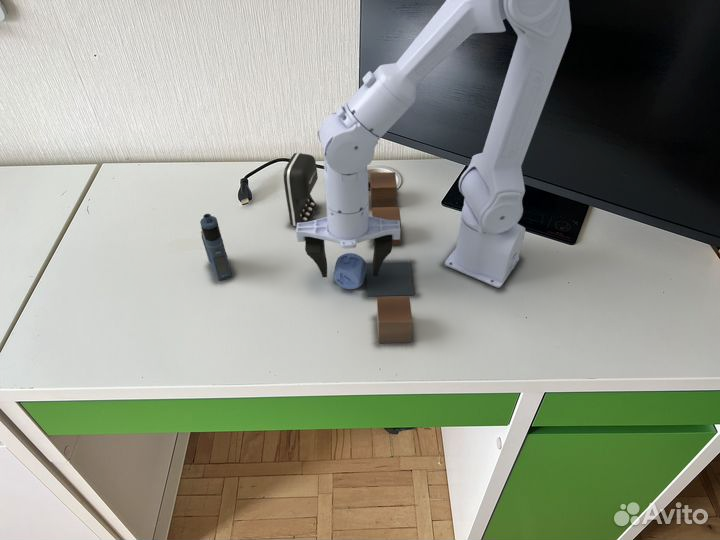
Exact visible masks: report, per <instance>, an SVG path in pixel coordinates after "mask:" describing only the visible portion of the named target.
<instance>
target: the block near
mask: <svg viewBox="0 0 720 540" xmlns="http://www.w3.org/2000/svg"><path fill="white" fill-rule="evenodd" d="M376 327H377V343H378V344H392V343H397V344H398V343H412V342H411V341H412V330H413V315H412V306H411V298H410V296H377V298H376Z"/></svg>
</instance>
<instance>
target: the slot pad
mask: <svg viewBox="0 0 720 540" xmlns="http://www.w3.org/2000/svg"><path fill="white" fill-rule="evenodd" d="M412 274H413V273H412V267H411V262H408V261H406V262H405V261H403V262H383V263H382V265H381V267H380V269H379V272H378V276H373V262H366V290H367V291H366V294H367V297H370V298H371V297H410V296H415V289H414V283H413V275H412Z"/></svg>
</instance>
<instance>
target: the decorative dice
mask: <svg viewBox="0 0 720 540" xmlns="http://www.w3.org/2000/svg"><path fill="white" fill-rule="evenodd" d="M366 263H367V262H366V260H365V259H364V258H363V257H362V256H361V255H359V254H357V253H352V252H346V253H344V254H341V255H340V256H339V257H337V259H336V262H335V265H334V270H333V280H334V282H335V283H336V284H337V285H338V286H339V287H340V288H342V289H346V290H355V289H358V288H360V287H361V286H362V285H363V283H364V282H365V277H366V274H367V272H366Z"/></svg>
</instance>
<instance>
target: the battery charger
mask: <svg viewBox="0 0 720 540" xmlns="http://www.w3.org/2000/svg"><path fill="white" fill-rule="evenodd" d="M316 162H317V161H316V158H315V156H313V155H312V154H308V153H301V152H294V153H293V154H292V155H291V156H290V159H289V160H288V162H287V164H286V166H285V168H284V171H283V184H284V191H285V198H286V204H287V211H288V218H289V225H291V226H293V227H297V223H303V222H309V221H312V218H313V216H314V214H315V212H316V211H317V204H316V202H315V199H313V197H312V195H311V193H312V191H313V189H314V187H315V185H316V183H317V181H318V179H319V176H318V168H317V163H316Z"/></svg>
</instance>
